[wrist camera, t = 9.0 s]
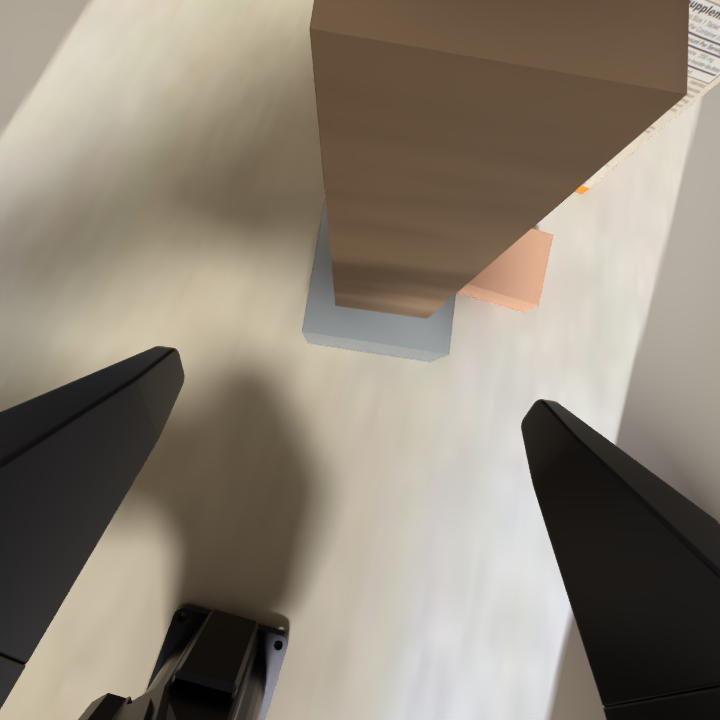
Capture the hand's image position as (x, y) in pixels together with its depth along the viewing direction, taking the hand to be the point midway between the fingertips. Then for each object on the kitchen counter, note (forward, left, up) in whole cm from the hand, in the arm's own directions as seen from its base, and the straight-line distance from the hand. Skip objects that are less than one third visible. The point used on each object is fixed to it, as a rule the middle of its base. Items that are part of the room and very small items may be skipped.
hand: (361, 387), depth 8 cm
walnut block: (+7, 0, -8) cm, 11 cm away
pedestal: (+7, 0, -13) cm, 14 cm away
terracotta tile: (+11, -7, -13) cm, 19 cm away
